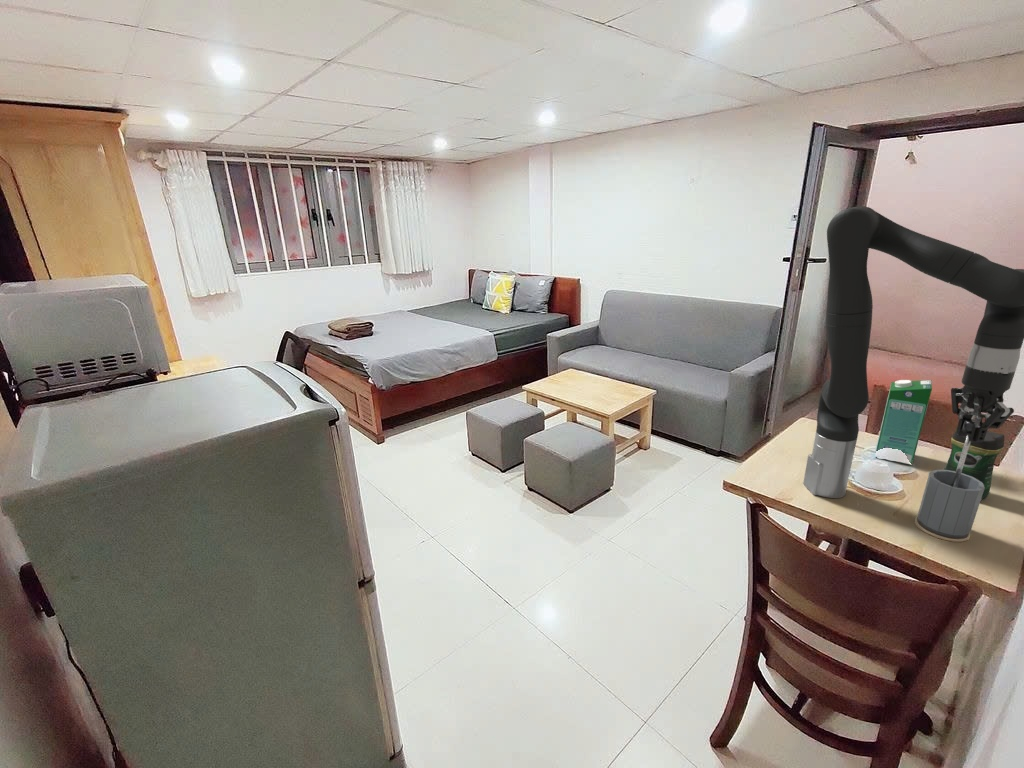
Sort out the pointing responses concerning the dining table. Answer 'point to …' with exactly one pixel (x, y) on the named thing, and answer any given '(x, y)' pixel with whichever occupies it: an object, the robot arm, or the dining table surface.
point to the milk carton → (904, 416)
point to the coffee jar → (977, 457)
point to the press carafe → (949, 506)
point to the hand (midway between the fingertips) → (968, 438)
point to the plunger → (964, 449)
